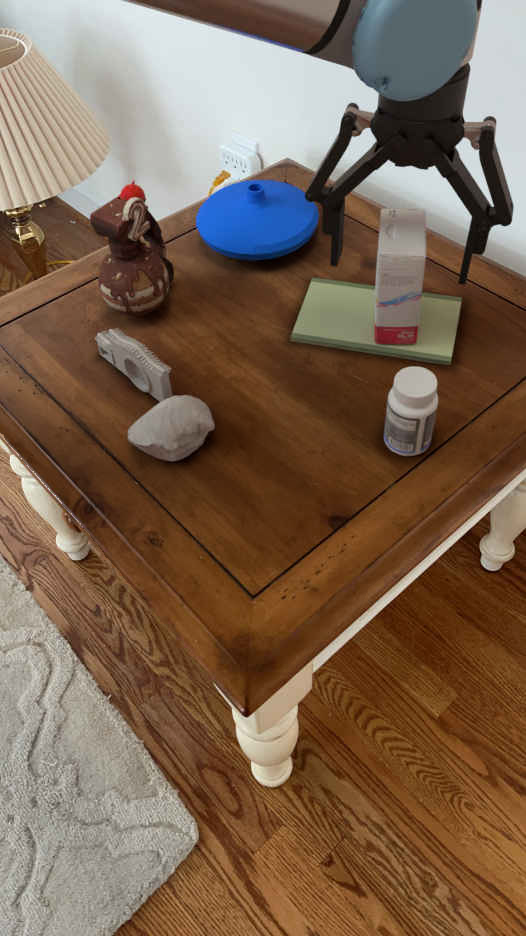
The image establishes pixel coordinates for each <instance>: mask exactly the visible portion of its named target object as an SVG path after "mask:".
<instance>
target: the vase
mask: <svg viewBox="0 0 526 936" xmlns="http://www.w3.org/2000/svg"><path fill="white" fill-rule="evenodd" d="M305 193H306V192H304V191H303V190H301V189H300V188H299V187H297V186H294V185H293V184H290V183H287V182H283V181H279V180H272V179H252V180H244V181H239V182H235V183H232V184H229V185H226V186H224V187H222V188H219V189H218V190H217V191H215V192H213V193H212V194H210V195H209V196H208V198H207V199H206V200H205V201H204V202H203V204H201V206H200V207H199V209H198V211H197V214H196V216H195V222H196V223H195V227H196V229H197V231H198V233H199V235H200V237H201V238H202V240H203V242H204V243H205V244H206V245H207V246H208V247H209V248H210V249H211V250H212V251H214V252H217V253H218V254H220V255H222V256H225V257H229V258H232V259H235V260H236V259H237V260H243V261H244V260H245V261H263V260H272V259H276V258H279V257H283V256H286V255H289V254H291V253H293V252H295V251H296V250H299V249H300V248H302V247H303V246H305V244H307V242H309V241H310V240H311V238H312V236H313V235H314V234H315V231H316V229H317V226H318V221H319V218H320V213H319V211H318V210H319V209H318V206H317V204H316V202H315V201H314V202H308V201H307V200H306V199H305Z"/></svg>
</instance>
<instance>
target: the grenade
mask: <svg viewBox="0 0 526 936" xmlns="http://www.w3.org/2000/svg"><path fill="white" fill-rule="evenodd" d="M135 182H136V181H135V179H133V180H132V183H130V184H126V185H125V186H123V188H122V189H121V191H120V193H119V194H118V195H117V196H116V197H114V198H113V199H111V200H109V201H108V202H106V203H105V204H104V205H102V206H100V207H99V208H97V209H96V210H94V211H92V212H91V213H90V216H89V224H90V226H91V227H92V228H93V230H94V232H95V233H96V235H97V236H99V237H104V238H105V237H106V238H107V244H108V247H109V251H108V253H107V254H105V256H104V258H103V259H102V261H101V263H100V266H99V269H98V278H97V281H98V287H99V290H100V293H101V295H102V298H103V301H105V303H106V304H107V305H108V306H109V307H110V308H111V309H113V311H115V312H117V313H119V314H121V315H125V316H128V317H138V316H139V317H140V316H145V315H148V314H150V313H152V312H154V311H155V310H157V309H158V308H159V307H160V306H161V305H162V304H163V303H164V302H165V300H166V298H167V295H168V293H169V290H170V289H169V288H170V287H171V286H172V284H173V282H174V279H175V269H174V264H173V263H172V262H171V261H170V260H169V259H168V258H167V249H168V248H167V246H166V243H165V241H164V237H163V235H162V233H163V231H162V229H161V227H160V225H159V223H158V221H157V219H156V218H155V217H154V216H153V214H152V213H151V212H150V211H149V205H147V204H146V201H147V198H146V193H145V190H144V189H143V188H142V187H141V186H140V185H138V184H136V183H135ZM141 237H142V238H143V239H144V241H145V242H143V241H142V240H141ZM146 242H148V243H149V247H148V246H147V244H146Z"/></svg>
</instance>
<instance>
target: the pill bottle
mask: <svg viewBox="0 0 526 936" xmlns="http://www.w3.org/2000/svg"><path fill="white" fill-rule="evenodd" d="M437 391H438V379H437V376H436V375H435V374H434V372H433V371H431V370H429V369H427V368H425V367H422V366H416V365H415V366H414V365H413V366H412V365H411V366H407V367H404V368H402V369H400V370H399V371H398V372H396V374H395V375H394V379H393V385H392V387H391V389H390V390H389V392H388V395H387V401H386V411H385V419H384V428H383V429H384V430H383V441H384V443H385V446H386V447H387V448H388V449H389V450H390V451H391V452H393V453H394V454H396V455H399V456H403V457H413V456H417V455H421V454H422V453H424V452H426V451H427V450H428V448H429V447H430V444H431V442H432V437H433V433H434V427H435V423H436V417H437V412H438V406H439V396H438V393H437Z"/></svg>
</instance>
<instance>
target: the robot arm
mask: <svg viewBox="0 0 526 936" xmlns="http://www.w3.org/2000/svg"><path fill="white" fill-rule="evenodd" d="M121 1H122V2H125V3H129V4H131V5H132V4H133V5H136V6H140V7H142V8H147V9H150V10H154V11H156V12H160V13H162V14H167V15H171V16H174V17H177V18H181V19H184V20H187V21H191V22H195V23H198V24H201V25H204V26H208V27H212V28H215V29H219V30H222V31H225V32H228V33H233V34H236V35H239V36H243V37H246V38H250V39H253V40H256V41H259V42H264V43H267V44H270V45H273V46H276V47H280V48H284V49H288V50H290V51H293V52H298V53H301V54H305V55H308V56H310V57H313V58H315V59H319V60H323V61H326V62H329V63H332V64H336V65H340V66H343V67H345V68H348V69H351V70H352V71H354V72H355V75H356V76H357V78H358V79H359V80H360V81H361V82H362V83H363V84H364V85H365V86H366V87H368V88H371V89H373V90H374V91H375V92H376V93H378V98H377V107H376V110H375V111H374V112H373V111H372V112H371V111H368V110H363V109H360V107H359V105H358V104H357V103H355V102H350V103H348V104H347V105H346V107H345V109H344V110H345V111H344V112H343V115H342V116H341V120H340V126H339V132H338V134H337V135H336V137H335V139H334V141H333V142H332V144H331V146H330V147H329V149H328V151H327V153H326V154H325V156H324V157H323V159H322V161H321V163H320V164H319V166H318V168H317V169H316V171H315V173H314V174H313V176H312V178H311V179H310V181H309V184H308V186H307V189H306V191H305V192H304V193H305V199H306V200H307V201H308V202H314V203H317V204H319V205H320V206H321V208H322V217H321V218H322V223H321V231H322V233H323V235H328V236H331V239H330V240H331V242H330V258H329V259H330V260H329V263H330V264H329V266H330V267H338V265H339V262H340V259H341V256H342V253H343V245H344V227H345V213H346V211H345V210H346V197H347V196H348V195H349V194H351V193H352V192H353V191H354V190H355V189H356V188H357V187H358V186H359V185H360V184H361V183H362V182H364V181H365V180H366V179H367V178H368V177H369V176H371V174H372V173H374V172H375V171H378V170H379V169H380V168H381V167H382V166H384V165H385V164H386V163H387V162H388V161H389V162H391V163H392V164H394V167H398V168H406V167H413V168H415V169H418V170H425V171H429V168H432V167H435V168H436V170H437V172H438V174H440V175H441V177H442V178H443V179H446V181H447V182H448V184H449V185H450V187H451V188H452V189H453V191H454V192H455V194H456V195H457V197H458V198H459V200H460V201H461V203H462V204H463V206H464V207H465V209H466V210H467V211H468V213H469V214H470V216H471V219H470V224H469V229H468V233H467V238H466V242H465V247H464V252H463V256H462V260H461V266H460V271H459V277H458V283H457V284H458V285H462V286H463V285H464V286H466V284H467V281H468V280H467V279H468V275H469V271H470V266H471V262H472V257H473V255H479V256H482V255H483V254H484V253H485V252H486V247H487V243H488V239H489V235H490V232H491V229H492V228H493V227H495V226H499V225H500V226H502V227H508V226H510V225H511V224H512V223H513V215H514V209H515V208H514V205H515V204H514V201H513V199H512V195H511V192H510V188H509V184H508V182H507V178H506V175H505V171H504V167H503V165H502V161H501V158H500V154H499V151H498V147H497V144H496V132H497V119H496V118H495V117H494V116H493V115H492V116H491V115H489V116H486V117H484V119H483V120H482V121H466V120H465V118H464V107H465V102H466V97H467V92H468V85H469V80H470V74H471V65H470V63H469V62H471V60H472V59H473V56H474V50H475V45H476V39H477V34H478V29H479V24H480V18H481V13H482V8H483V5H482V4H483V0H121ZM365 129H370V132H371V134H372V135H373V137H374V139H375V140H376V141H375V142H374V143H373V144H372V146H371V147H370V148H369V149H368V150H367V151H366V152H365V153H364V154H363V155H362V156H361V157H359V159H357V160H356V161H355V162H354V163H353V164H352V165H351V166H350V167H349V168H348V169H347V170H345V172H344V173H342V174H341V175H340V176H339V177H338V178H337V179H336V180H335V181H334V182H333V183H332V184H331V183H329V185H328V186H327V185H326V184H327V182H328V181H329V179H330V177H331V176H332V174H333V172H334V171H335V169H336V167H337V166H338V164H339V163H340V161H341V159H342V158H343V156H344V155H345V153H346V151H347V149H348V147H349V145H350V143H351V140H352V139H353V138H356V137H359V136H361V135H362V133H363V131H364V130H365ZM463 139H467V140H468V141H469V142H470V146H471V147H472V149H474V150H475V151H478V157H479V159H478V160H479V162H480V163H479V164H480V166H481V169H482V172H483V177H484V179H485V182H486V185H487V189H488V191H489V195H490V198H491V202H492V204H493V205H492V204H491V203H490V201H489V200H488V198H487V197H486V195H485V194H484V192H483V191H482V189H481V187H480V186H479V185H478V183H477V181H476V179H475V178H474V177H473V176H472V174H471V172H470V171H469V169H468V167H467V166H466V165H465V163H464V162H463V160H462V159H461V156H460V153H459V151H458V149H457V145H459V144H460V143H461V142H462V140H463Z"/></svg>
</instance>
